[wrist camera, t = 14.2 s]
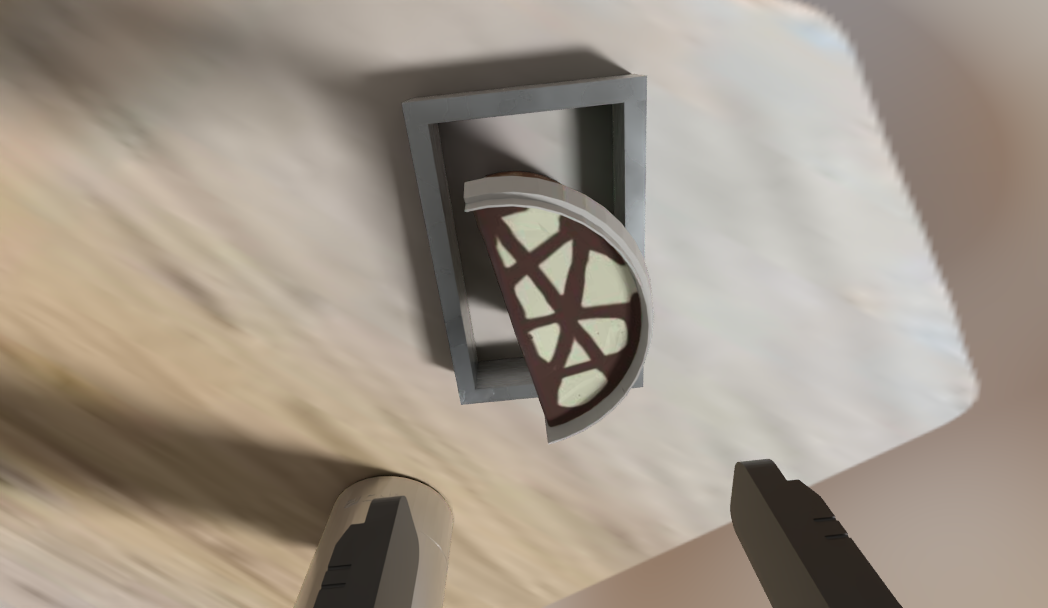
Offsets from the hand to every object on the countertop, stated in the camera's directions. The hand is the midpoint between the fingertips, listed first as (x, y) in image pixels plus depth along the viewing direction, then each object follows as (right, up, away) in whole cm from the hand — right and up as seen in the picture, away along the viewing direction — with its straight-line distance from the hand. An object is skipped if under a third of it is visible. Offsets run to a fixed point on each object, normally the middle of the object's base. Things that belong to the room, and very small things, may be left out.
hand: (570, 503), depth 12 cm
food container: (+1, +9, +16) cm, 19 cm away
